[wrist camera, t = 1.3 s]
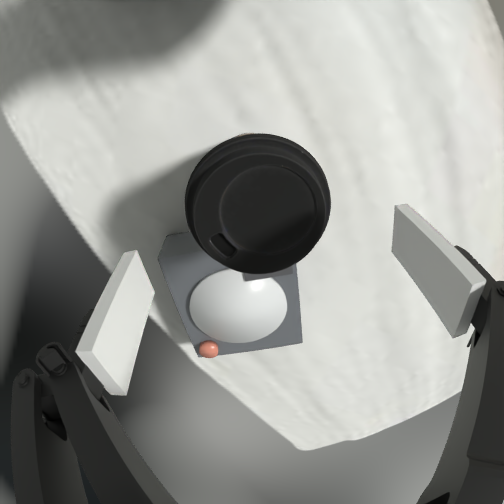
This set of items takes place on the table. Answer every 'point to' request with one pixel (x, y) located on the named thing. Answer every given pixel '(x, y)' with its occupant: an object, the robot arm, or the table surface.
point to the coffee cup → (257, 203)
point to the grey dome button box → (229, 301)
